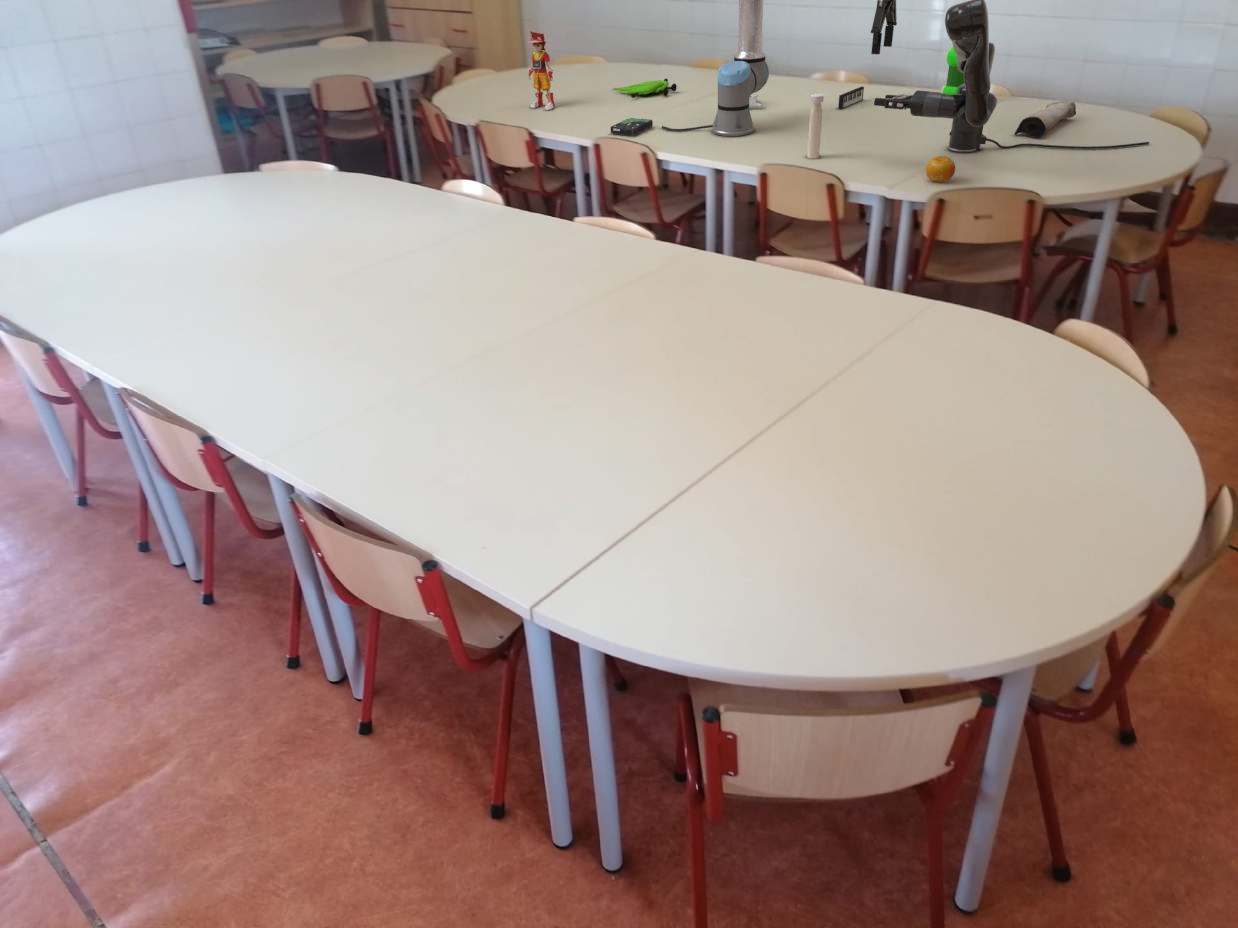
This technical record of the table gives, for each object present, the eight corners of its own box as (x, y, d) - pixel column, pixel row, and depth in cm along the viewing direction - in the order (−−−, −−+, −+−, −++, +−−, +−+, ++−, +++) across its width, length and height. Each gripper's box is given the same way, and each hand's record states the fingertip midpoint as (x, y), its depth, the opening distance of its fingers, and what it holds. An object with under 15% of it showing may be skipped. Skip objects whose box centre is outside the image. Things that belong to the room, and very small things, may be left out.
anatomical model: (728, 80, 368) (752, 74, 367) (733, 106, 374) (756, 99, 373) (735, 89, 356) (760, 82, 355) (739, 115, 362) (764, 108, 361)
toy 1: (525, 109, 381) (517, 32, 364) (534, 104, 388) (527, 28, 371) (550, 110, 377) (543, 32, 360) (559, 105, 384) (553, 28, 367)
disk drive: (633, 137, 337) (653, 126, 347) (633, 129, 336) (652, 119, 346) (610, 134, 342) (630, 124, 352) (609, 127, 340) (630, 117, 350)
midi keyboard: (840, 109, 355) (842, 95, 352) (838, 108, 355) (839, 95, 353) (863, 99, 365) (864, 86, 362) (860, 99, 366) (861, 86, 363)
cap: (811, 100, 297) (811, 93, 296) (823, 100, 296) (824, 93, 295) (810, 103, 294) (810, 96, 293) (822, 103, 293) (823, 96, 292)
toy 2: (686, 85, 398) (631, 84, 414) (685, 72, 395) (629, 72, 411) (651, 104, 381) (596, 103, 397) (650, 92, 378) (594, 91, 394)
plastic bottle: (973, 101, 354) (984, 32, 339) (955, 106, 349) (966, 36, 335) (952, 97, 361) (962, 29, 346) (934, 102, 356) (944, 33, 342)
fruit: (919, 172, 274) (936, 148, 271) (921, 174, 282) (937, 151, 279) (942, 187, 273) (960, 164, 270) (943, 189, 281) (960, 166, 278)
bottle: (807, 155, 307) (811, 95, 296) (819, 155, 306) (824, 95, 295) (806, 158, 304) (810, 98, 293) (818, 158, 303) (823, 98, 292)
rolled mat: (1043, 106, 330) (1068, 89, 322) (1057, 127, 331) (1082, 110, 323) (1010, 128, 313) (1035, 111, 305) (1024, 150, 313) (1050, 133, 305)
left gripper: (889, -14, 286) (881, 58, 298) (910, -24, 303) (902, 44, 315) (865, -14, 289) (859, 57, 301) (888, -25, 306) (881, 43, 318)
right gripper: (939, 89, 285) (890, 85, 294) (922, 94, 275) (872, 90, 284) (935, 114, 289) (887, 109, 297) (918, 120, 279) (869, 115, 288)
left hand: (881, 50), depth 308 cm, fingers open, 13 cm apart
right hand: (880, 100), depth 291 cm, fingers open, 8 cm apart
